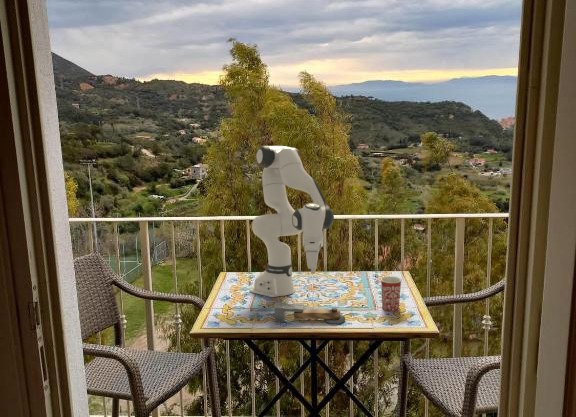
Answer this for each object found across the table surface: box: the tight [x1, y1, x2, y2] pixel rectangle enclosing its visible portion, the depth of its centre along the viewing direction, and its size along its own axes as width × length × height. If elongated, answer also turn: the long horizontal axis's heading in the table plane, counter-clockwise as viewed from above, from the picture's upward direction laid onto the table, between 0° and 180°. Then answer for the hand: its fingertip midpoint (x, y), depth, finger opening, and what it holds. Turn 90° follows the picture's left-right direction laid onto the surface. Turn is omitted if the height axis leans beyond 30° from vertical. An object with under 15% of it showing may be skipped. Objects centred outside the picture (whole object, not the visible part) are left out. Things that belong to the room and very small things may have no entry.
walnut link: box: [293, 307, 341, 320], centre depth 224 cm, size 20×5×4 cm, turn 86°
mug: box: [380, 276, 403, 312], centre depth 236 cm, size 13×9×14 cm
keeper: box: [273, 301, 305, 323], centre depth 225 cm, size 12×7×6 cm, turn 84°
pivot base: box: [323, 314, 346, 325], centre depth 224 cm, size 9×9×1 cm
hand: (313, 272), depth 229 cm, fingers closed
